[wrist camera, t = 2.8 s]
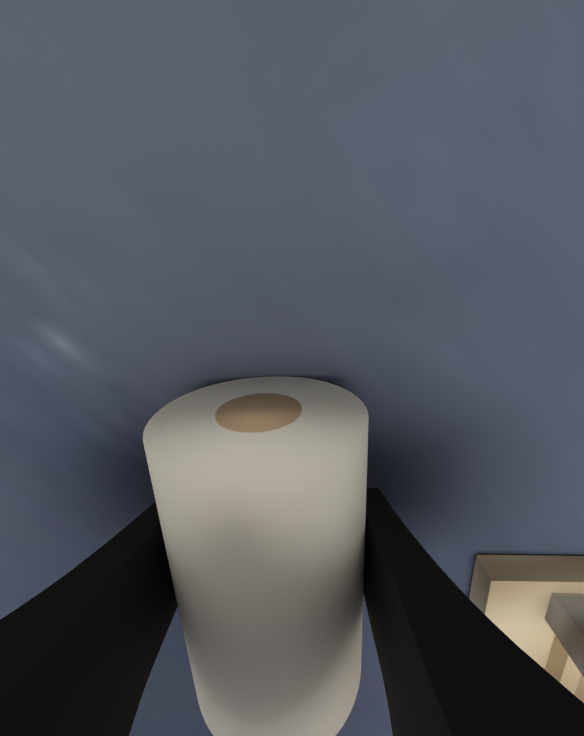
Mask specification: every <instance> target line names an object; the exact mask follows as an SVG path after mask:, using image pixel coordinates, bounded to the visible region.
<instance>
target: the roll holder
mask: <svg viewBox="0 0 584 736" xmlns="http://www.w3.org/2000/svg"><path fill="white" fill-rule="evenodd" d="M469 599H470V600H471V601H472V602H473V603H474V604H475V605H476V606H477V607H478V608H479V609H480V610H481V611H482V612H483V613H484V614H485V615H486V616H487V617H488V618H489V619H490V620H491V621H492V622H493V623H494V624H495V625H496V626H497V627H498V628H499V629H500V630H501V631H502V632H503V633H505V634H506V635H507V636H508V637H509V638H510V639H511V640H512V641H513V642H514V643H515V644H516V645H517V646H518V647H519V648H521V649H522V650H523V651H524V652H525V653H526V654H528V655H529V656H530V657H531V658H532V659H533V660H534V661H536V662H537V663H538V664H539V665H540V666H541V667H543V668H544V669H545V670H546V671H547V672H548V673H549V674H551V675H552V676H553V677H554V678H555V679H556V680H557V681H559V682H560V683H561V684H562V685H563V686H564V687H566V688H567V689H568V690H569V691H570V692H571V693H572V694H574V695H575V696H576V697H577V698H578V699H580V700H581V701H582V702H583V703H584V556H550V555H476V558H475V564H474V570H473V576H472V582H471V588H470V594H469Z"/></svg>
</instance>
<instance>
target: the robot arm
mask: <svg viewBox="0 0 584 736" xmlns="http://www.w3.org/2000/svg"><path fill="white" fill-rule="evenodd" d="M363 593H364V597H365V601H366V606H367V610H368V615H369V619H370V623H371V628H372V632H373V636H374V641H375V645H376V649H377V654H378V658H379V662H380V667H381V671H382V675H383V680H384V685H385V690H386V695H387V700H388V706H389V713H390V719H391V725H392V732H393V736H584V703H583V702H582V701H581V700H580V699H578V698H577V697H576V696H575V695H574V694H572V693H571V692H570V691H569V690H568V689H567V688H566V687H564V686H563V685H562V684H561V683H560V682H559V681H557V680H556V679H555V678H554V677H553V676H552V675H551V674H549V673H548V672H547V671H546V670H545V669H544V668H543V667H541V666H540V665H539V664H538V663H537V662H536V661H534V660H533V659H532V658H531V657H530V656H529V655H528V654H526V653H525V652H524V651H523V650H522V649H521V648H519V647H518V646H517V645H516V644H515V643H514V642H513V641H512V640H511V639H510V638H509V637H508V636H507V635H506V634H505V633H503V632H502V631H501V630H500V629H499V628H498V627H497V626H496V625H495V624H494V623H493V622H492V621H491V620H490V619H489V618H488V617H487V616H486V615H485V614H484V613H483V612H482V611H481V610H480V609H479V608H478V607H477V606H476V605H475V604H474V603H473V602H472V601H471V600H470V599H469V598H468V597H467V596H466V595H465V594H464V593H463V592H462V591H461V590H460V589H459V588H458V587H457V586H456V585H455V584H454V582H453V581H452V580H451V579H450V578H449V577H448V576H447V575H446V574H445V572H444V571H443V570H442V569H441V568H440V567H439V566H438V565H437V564H436V562H435V561H434V560H433V559H432V558H431V557H430V555H429V554H428V553H427V552H426V551H425V549H424V548H423V547H422V546H421V544H420V543H419V542H418V541H417V540H416V538H415V537H414V536H413V535H412V533H411V532H410V531H409V530H408V528H407V527H406V526H405V524H404V523H403V522H402V520H401V519H400V518H399V516H398V515H397V514H396V512H395V511H394V510H393V508H392V507H391V505H390V504H389V502H388V501H387V500H386V498H385V497H384V495H383V494H382V492H381V491H380V490H379V489H378V488H366V521H365V554H364V587H363ZM177 606H178V604H177V600H176V595H175V590H174V586H173V581H172V576H171V571H170V567H169V562H168V557H167V553H166V548H165V543H164V538H163V534H162V529H161V524H160V520H159V515H158V510H157V505H156V502H155V503H153V504H152V505H151V506H150V507H149V508H148V509H146V510H145V511H144V512H143V513H142V514H141V515H139V516H138V517H137V518H136V519H135V520H134V521H132V522H131V523H130V524H129V525H128V526H126V527H125V528H124V529H123V530H122V531H120V532H119V533H118V534H117V535H116V536H115V537H113V538H112V539H111V540H110V541H108V542H107V543H106V544H105V545H103V546H102V547H101V548H100V549H98V550H97V551H96V552H94V553H93V554H92V555H91V556H89V557H88V558H87V559H85V560H84V561H83V562H82V563H80V564H79V565H78V566H77V567H75V568H74V569H73V570H71V571H70V572H69V573H67V574H66V575H65V576H63V577H62V578H61V579H59V580H58V581H57V582H55V583H54V584H52V585H51V586H50V587H48V588H47V589H45V590H44V591H42V592H41V593H40V594H38V595H37V596H35V597H34V598H32V599H31V600H29V601H28V602H26V603H25V604H24V605H22V606H21V607H19V608H18V609H16V610H15V611H13V612H12V613H10V614H9V615H7V616H5V617H4V618H2V619H1V620H0V736H129V733H130V730H131V727H132V724H133V721H134V718H135V715H136V712H137V709H138V706H139V702H140V699H141V696H142V693H143V691H144V688H145V685H146V683H147V680H148V677H149V675H150V672H151V669H152V667H153V664H154V662H155V659H156V657H157V655H158V652H159V650H160V647H161V645H162V642H163V640H164V638H165V635H166V633H167V630H168V628H169V625H170V623H171V621H172V618H173V616H174V613H175V611H176V608H177Z"/></svg>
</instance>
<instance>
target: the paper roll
mask: <svg viewBox="0 0 584 736" xmlns="http://www.w3.org/2000/svg"><path fill="white" fill-rule="evenodd" d="M368 423H369V415H368V411H367V408H366V406H365V405H364V403H363V402H362V401H361V400H360V399H359V398H358V397H357V396H356V395H354V394H353V393H351V392H350V391H348V390H346V389H344V388H342V387H339V386H337V385H334V384H331V383H328V382H324V381H320V380H315V379H309V378H301V377H287V376H268V377H253V378H245V379H238V380H232V381H227V382H222V383H218V384H214V385H210V386H207V387H204V388H201V389H198V390H195V391H193V392H190V393H188V394H185V395H183V396H181V397H179V398H177V399H175V400H173V401H172V402H170V403H168V404H167V405H165V406H164V407H162V408H161V409H160V410H159V411H158V412H156V413H155V414H154V415H153V417H152V418H151V419H150V420H149V421H148V423H147V425H146V426H145V429H144V432H143V444H144V449H145V454H146V458H147V463H148V468H149V472H150V477H151V482H152V487H153V491H154V496H155V501H156V505H157V510H158V515H159V520H160V524H161V529H162V534H163V538H164V543H165V548H166V553H167V557H168V562H169V567H170V571H171V576H172V581H173V586H174V590H175V595H176V600H177V604H178V609H179V614H180V619H181V623H182V628H183V633H184V637H185V642H186V647H187V652H188V656H189V661H190V666H191V670H192V675H193V680H194V685H195V689H196V694H197V698H198V702H199V707H200V710H201V713H202V715H203V718H204V720H205V723H206V724H207V726H208V728H209V730H210V731H211V733H212V735H213V736H336V735H337V733H338V732H339V731H340V730H341V728H342V727H343V725H344V723H345V722H346V720H347V718H348V716H349V715H350V712H351V710H352V707H353V705H354V702H355V699H356V696H357V692H358V689H359V683H360V676H361V652H362V619H363V587H364V554H365V521H366V488H367V456H368Z"/></svg>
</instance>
